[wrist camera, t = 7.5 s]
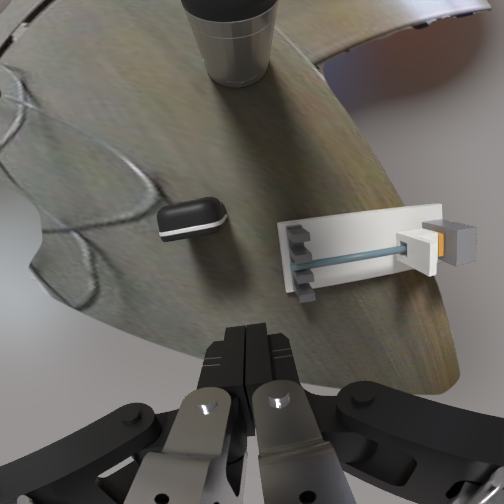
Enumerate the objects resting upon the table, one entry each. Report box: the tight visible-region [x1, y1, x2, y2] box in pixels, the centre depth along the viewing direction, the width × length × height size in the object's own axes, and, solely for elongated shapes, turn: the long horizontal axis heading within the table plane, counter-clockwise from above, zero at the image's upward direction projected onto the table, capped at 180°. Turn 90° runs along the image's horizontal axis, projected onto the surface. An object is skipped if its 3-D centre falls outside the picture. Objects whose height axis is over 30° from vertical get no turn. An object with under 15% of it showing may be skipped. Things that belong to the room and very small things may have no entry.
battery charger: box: [157, 197, 227, 242], centre depth 32 cm, size 7×4×11 cm, turn 99°
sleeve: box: [396, 228, 438, 277], centre depth 31 cm, size 4×5×8 cm
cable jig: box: [277, 204, 477, 303], centre depth 34 cm, size 10×28×10 cm, turn 98°
